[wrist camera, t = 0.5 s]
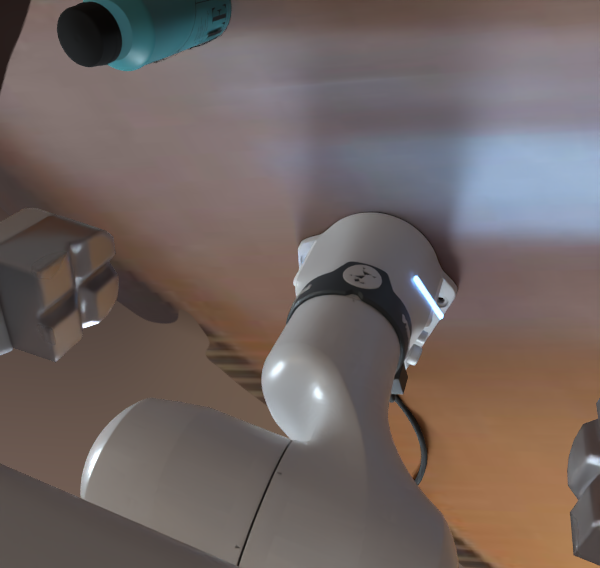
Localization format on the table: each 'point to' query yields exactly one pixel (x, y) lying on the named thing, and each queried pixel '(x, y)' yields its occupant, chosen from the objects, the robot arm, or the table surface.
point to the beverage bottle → (138, 30)
